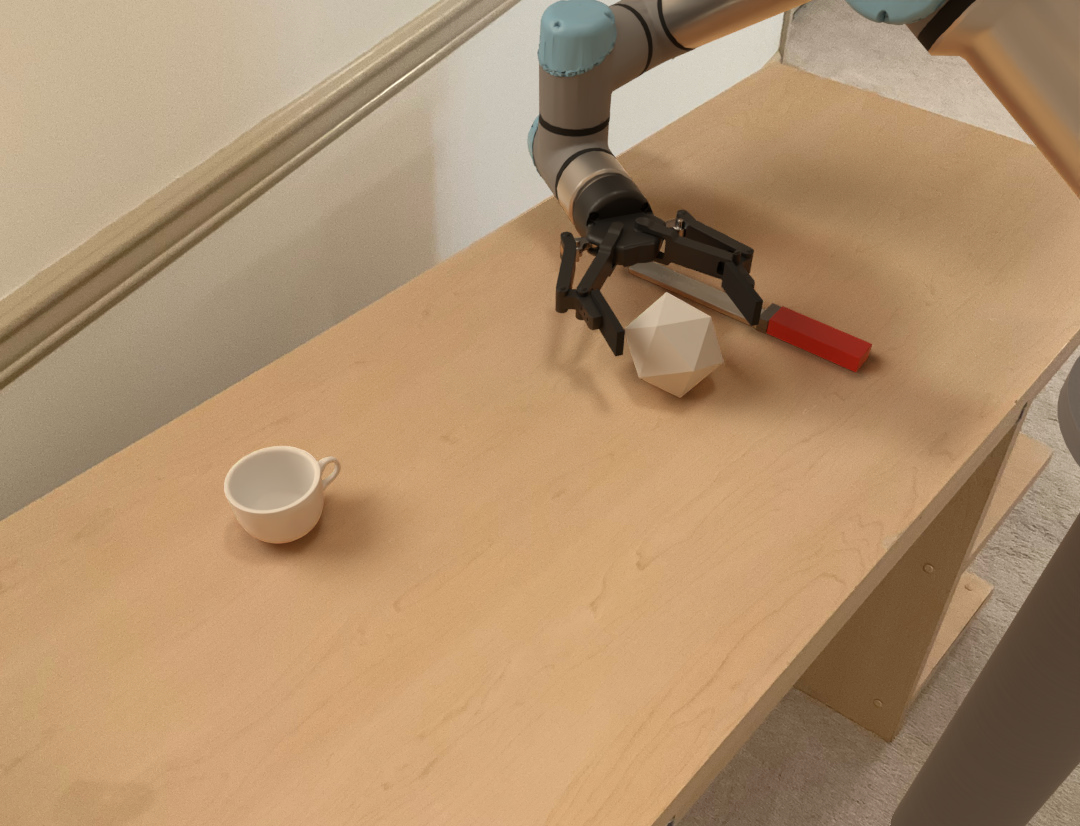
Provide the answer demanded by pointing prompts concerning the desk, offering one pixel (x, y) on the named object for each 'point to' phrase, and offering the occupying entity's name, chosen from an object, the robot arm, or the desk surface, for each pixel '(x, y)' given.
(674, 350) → the white icosahedron
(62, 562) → the desk surface
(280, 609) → the desk surface
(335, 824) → the desk surface
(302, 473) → the teacup
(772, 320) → the knife
